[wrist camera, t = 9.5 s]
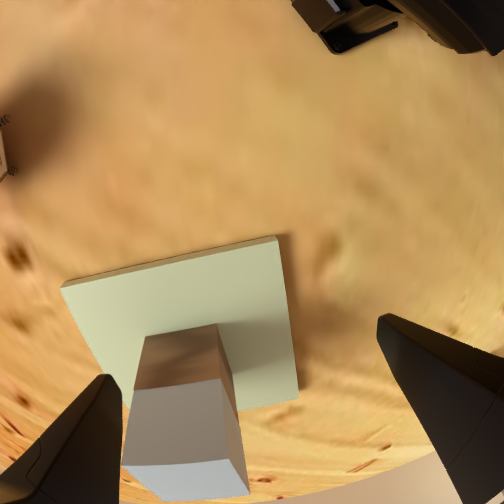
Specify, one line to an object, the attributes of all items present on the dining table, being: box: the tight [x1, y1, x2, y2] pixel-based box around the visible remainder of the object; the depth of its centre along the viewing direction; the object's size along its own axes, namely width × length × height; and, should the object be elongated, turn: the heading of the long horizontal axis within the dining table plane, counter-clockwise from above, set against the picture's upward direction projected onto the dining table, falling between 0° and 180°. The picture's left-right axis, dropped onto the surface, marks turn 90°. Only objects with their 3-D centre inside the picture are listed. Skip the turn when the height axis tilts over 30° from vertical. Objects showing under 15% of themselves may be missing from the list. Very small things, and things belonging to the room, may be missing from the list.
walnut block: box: [133, 323, 239, 424], centre depth 20 cm, size 6×6×6 cm
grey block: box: [121, 378, 251, 502], centre depth 15 cm, size 6×6×6 cm
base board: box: [59, 235, 299, 412], centre depth 23 cm, size 16×16×1 cm
